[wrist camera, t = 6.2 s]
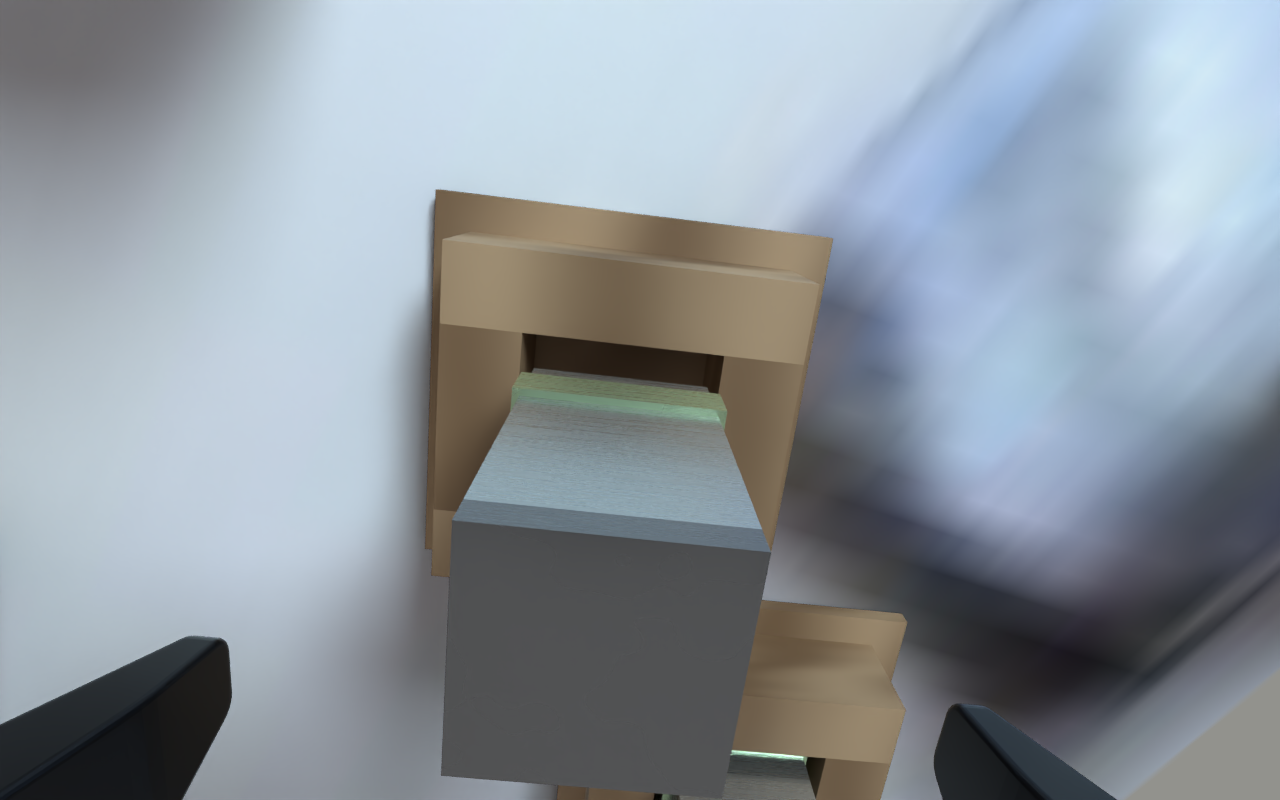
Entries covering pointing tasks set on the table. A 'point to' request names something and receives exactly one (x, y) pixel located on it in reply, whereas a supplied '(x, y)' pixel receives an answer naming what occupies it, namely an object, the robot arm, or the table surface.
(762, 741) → the wooden square base
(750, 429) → the marked collar
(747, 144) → the table surface
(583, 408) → the marked post
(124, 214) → the table surface
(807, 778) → the plain post
